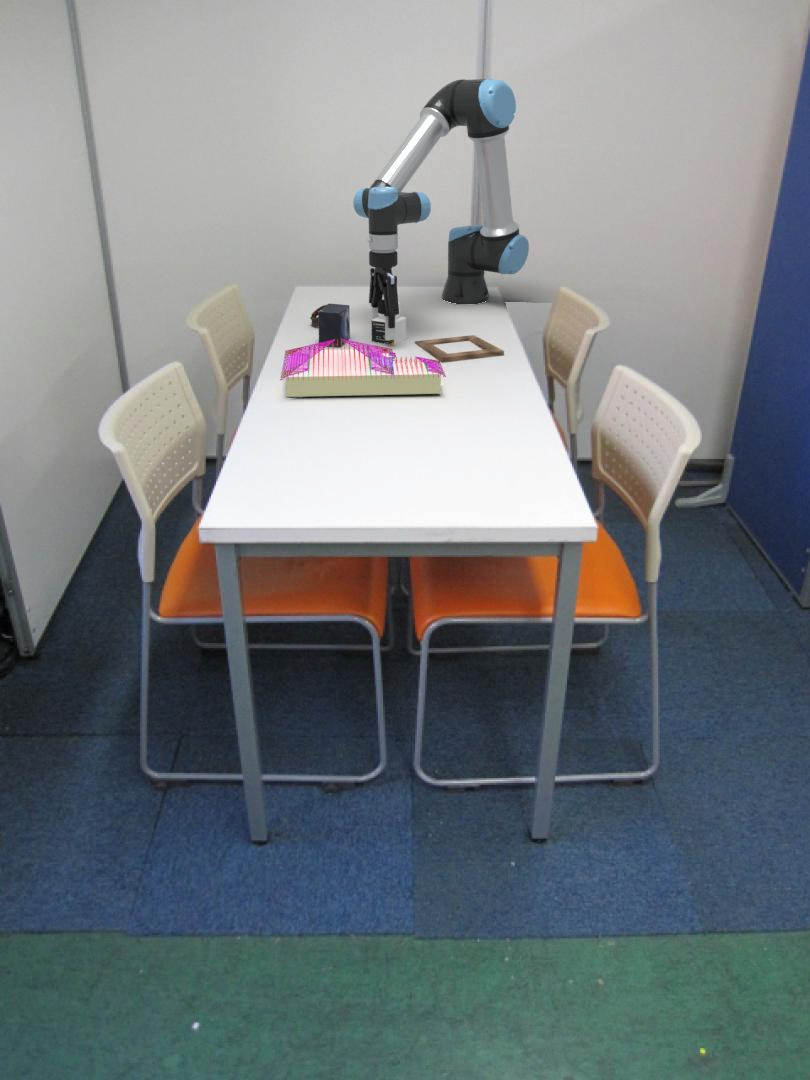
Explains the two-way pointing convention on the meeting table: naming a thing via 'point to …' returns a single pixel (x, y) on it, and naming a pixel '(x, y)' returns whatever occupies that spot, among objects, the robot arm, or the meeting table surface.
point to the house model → (357, 372)
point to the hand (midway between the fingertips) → (383, 335)
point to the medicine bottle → (379, 326)
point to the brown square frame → (443, 357)
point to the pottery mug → (314, 316)
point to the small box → (334, 324)
